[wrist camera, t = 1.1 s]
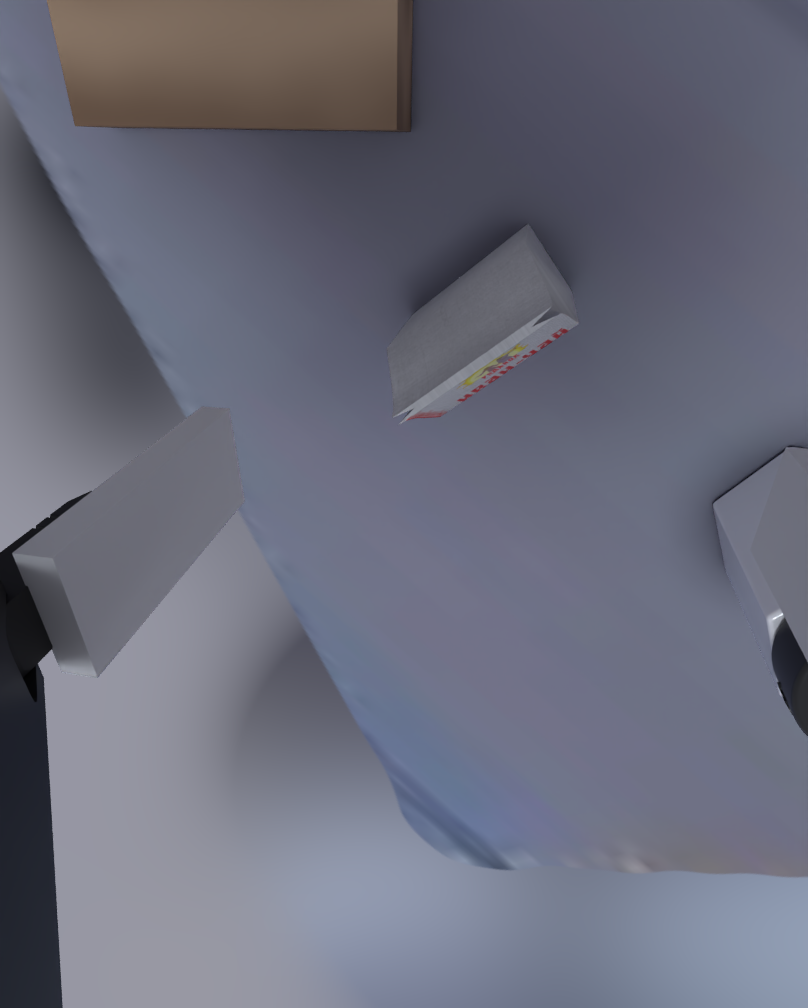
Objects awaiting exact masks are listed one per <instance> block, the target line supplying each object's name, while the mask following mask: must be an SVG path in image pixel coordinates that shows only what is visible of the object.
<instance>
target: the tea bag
mask: <svg viewBox="0 0 808 1008" xmlns="http://www.w3.org/2000/svg"><path fill="white" fill-rule="evenodd" d="M578 324H579V320H578V316H577V311H576V306H575V302H574V297H573V292H572V291H571V289H570V287H569V286H568V284H567V283H566V281H565V280H564V278H563V277H562V275H561V273H560V272H559V270H558V269H557V267H556V266H555V264H554V263H553V261H552V259H551V258H550V256H549V255H548V253H547V252H546V250H545V248H544V247H543V245H542V244H541V242H540V241H539V239H538V238H537V236H536V234H535V233H534V231H533V230H532V228H531V227H530V225H529V224H527V225H526V226H524V227H523V228H522V229H520V230H519V231H518V232H517V233H515V234H514V235H513V236H512V237H510V238H509V239H508V240H507V241H505V242H504V243H503V244H501V245H500V246H499V247H498V248H496V249H495V250H494V251H493V252H491V253H490V254H489V255H487V256H486V257H485V258H484V259H482V260H481V261H480V262H479V263H477V264H476V265H475V266H473V267H472V268H471V269H470V270H468V271H467V272H466V273H465V274H463V275H462V276H461V277H460V278H458V279H457V280H456V281H454V282H453V283H452V284H451V285H449V286H448V287H447V288H446V289H444V290H443V291H442V292H440V293H439V294H438V295H437V296H435V297H434V298H433V299H432V300H430V301H429V302H428V303H426V304H425V305H424V306H423V307H421V308H420V309H419V310H418V311H416V312H415V313H414V314H413V315H412V316H411V317H410V318H409V320H408V321H407V322H406V324H405V325H404V326H403V328H402V329H401V330H400V331H399V333H398V334H397V335H396V337H395V338H394V339H393V341H392V342H391V343H390V345H389V346H388V347H387V355H388V362H389V370H390V377H391V384H392V394H393V415H392V418H393V417H396V416H398V415H400V414H403V413H405V412H407V411H409V412H408V414H407V415H406V416H405V417H404V419H403V420H402V421H401V422H400V424H401V423H402V422H404V421H406V420H410V419H414V418H429V417H441V416H442V415H444V414H445V413H447V412H448V411H450V410H451V409H453V408H454V407H456V406H457V405H459V404H460V403H462V402H463V401H465V400H466V399H467V398H469V397H470V396H472V395H473V394H475V393H476V392H478V391H479V390H481V389H482V388H484V387H485V386H487V385H488V384H490V383H491V382H493V381H494V380H496V379H497V378H499V377H500V376H502V375H503V374H505V373H506V372H508V371H509V370H511V369H512V368H514V367H515V366H517V365H518V364H520V363H521V362H523V361H524V360H526V359H527V358H529V357H530V356H532V355H533V354H535V353H536V352H538V351H539V350H541V349H542V348H544V347H545V346H547V345H548V344H550V343H551V342H553V341H554V340H556V339H557V338H559V337H560V336H562V335H563V334H564V333H566V332H567V331H569V330H570V329H572V328H573V327H575V326H576V325H578ZM400 424H399V425H400Z"/></svg>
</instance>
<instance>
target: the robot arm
mask: <svg viewBox="0 0 808 1008" xmlns="http://www.w3.org/2000/svg"><path fill="white" fill-rule="evenodd" d="M244 501H245V500H244V494H243V488H242V482H241V476H240V470H239V464H238V458H237V452H236V446H235V440H234V434H233V428H232V421H231V415H230V409H229V408H215V407H201V408H199V409H198V410H197V411H195V412H194V413H193V414H192V415H190V416H189V417H188V418H186V419H185V420H184V421H182V422H181V423H180V424H179V425H177V426H176V427H175V428H173V429H172V430H171V431H170V432H168V433H167V434H166V435H164V436H163V437H162V438H161V439H159V440H158V441H157V442H155V443H154V444H153V445H151V446H150V447H149V448H148V449H146V450H145V451H144V452H142V453H141V454H140V455H138V456H137V457H136V458H135V459H133V460H132V461H131V462H129V463H128V464H127V465H126V466H124V467H123V468H122V469H120V470H119V471H118V472H117V473H115V474H114V475H113V476H111V477H110V478H109V479H107V480H106V481H105V482H104V483H102V484H101V485H100V486H98V487H97V488H96V489H94V490H93V491H90V492H88V493H86V494H83V495H81V496H79V497H77V498H75V499H72V500H70V501H68V502H67V503H66V504H64V505H63V506H61V507H60V508H59V509H57V510H56V511H55V512H53V513H52V514H51V515H50V518H48V517H47V518H46V519H44V520H43V521H42V522H40V523H39V524H38V525H36V529H34V528H32V529H31V530H30V531H29V532H27V533H26V534H24V535H23V536H22V537H20V538H19V539H18V540H16V541H15V542H14V543H12V544H11V545H10V546H8V547H7V548H6V549H4V550H3V551H2V552H0V1008H62V990H61V972H60V955H59V937H58V920H57V902H56V886H55V867H54V851H53V833H52V815H51V798H50V780H49V763H48V745H47V728H46V711H45V694H44V677H43V675H42V673H41V670H40V668H39V666H38V663H39V662H40V660H41V659H42V658H43V657H44V656H45V655H46V654H47V653H48V652H49V651H50V650H51V649H52V650H53V653H54V655H55V658H56V660H57V663H58V665H59V667H60V670H61V672H64V673H70V674H77V675H83V676H90V677H95V678H98V677H99V676H100V674H101V673H102V672H103V671H104V670H105V668H106V667H107V666H108V665H109V664H110V662H111V661H112V660H113V659H114V658H115V656H116V655H117V654H118V653H119V652H120V650H121V649H122V648H123V647H124V646H125V644H126V643H127V642H128V641H129V639H130V638H131V637H132V636H133V635H134V634H135V632H136V631H137V630H138V629H139V627H140V626H141V625H142V624H143V623H144V622H145V620H146V619H147V618H148V617H149V616H150V614H151V613H152V612H153V611H154V610H155V608H156V607H157V606H158V604H160V602H161V601H162V600H163V599H164V598H165V596H166V595H167V594H168V593H169V592H170V590H171V589H172V588H173V587H174V585H175V584H176V583H177V582H178V581H179V579H180V578H181V577H182V576H183V575H184V573H185V572H186V571H187V570H188V569H189V567H190V566H191V565H192V564H193V563H194V561H195V560H196V559H197V558H198V556H199V555H200V554H201V553H202V552H203V551H204V549H205V548H206V547H207V546H208V545H209V543H210V542H211V541H212V540H213V539H214V537H215V536H216V535H217V534H218V533H219V531H220V530H221V529H222V528H223V527H224V525H225V524H226V523H227V522H228V520H229V519H230V518H231V517H232V516H233V515H234V513H235V512H236V511H237V510H238V509H239V507H240V506H241V505H242V504H243V503H244ZM750 551H751V553H752V555H753V557H754V559H755V561H756V562H757V564H758V566H759V568H760V570H761V572H762V574H763V576H764V578H765V580H766V582H767V584H768V586H769V588H770V590H771V592H772V594H773V596H774V598H775V599H776V601H777V603H778V605H779V607H780V609H781V611H782V613H783V615H784V617H785V619H786V621H787V623H788V625H789V627H790V629H791V631H792V633H793V635H794V636H795V638H796V640H797V642H798V644H799V646H800V648H801V650H802V652H803V654H804V656H805V658H806V660H807V662H808V449H806V448H791V447H786V448H785V451H784V454H783V457H782V460H781V463H780V465H779V468H778V471H777V474H776V477H775V480H774V483H773V486H772V488H771V491H770V494H769V497H768V500H767V503H766V506H765V509H764V511H763V514H762V517H761V520H760V523H759V526H758V529H757V532H756V535H755V537H754V540H753V543H752V546H751V549H750Z"/></svg>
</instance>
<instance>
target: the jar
mask: <svg viewBox="0 0 808 1008" xmlns="http://www.w3.org/2000/svg"><path fill="white" fill-rule="evenodd" d="M791 448H797V447H791ZM783 454H784V452H783V453H781V454H780V455H779V456H777V457H776V458H775V459H773V460H772V461H770V462H769V463H768V464H766V465H765V466H764V467H762V468H761V469H759V470H758V471H757V472H755V473H754V474H753V475H751V476H750V477H748V478H747V479H746V480H744V481H743V482H741V483H740V484H739V485H737V486H736V487H735V488H733V489H732V490H730V491H729V492H728V493H726V494H725V495H723V496H722V497H721V498H719V499H718V500H716V501H715V502H714V503H713V510H714V515H715V520H716V525H717V530H718V535H719V540H720V545H721V550H722V555H723V560H724V565H725V570H726V572H727V575H728V577H729V579H730V582H731V584H732V586H733V589H734V591H735V593H736V596H737V598H738V600H739V603H740V605H741V607H742V609H743V612H744V614H745V616H746V619H747V621H748V623H749V626H750V628H751V630H752V633H753V635H754V637H755V640H756V642H757V644H758V646H759V649H760V651H761V653H762V656H763V658H764V660H765V663H766V665H767V667H768V670H769V672H770V674H771V677H772V679H773V681H774V684H775V686H776V688H777V690H778V693H779V694H780V695H781V696H782V697H783V699H784V701H785V703H786V705H787V707H788V708H789V710H790V712H791V713H792V715H793V716H794V718H795V720H796V722H797V724H798V725H799V727H800V728H801V729H802V731H803V732H804V733H805V734H806V735H807V736H808V662H807V660H806V658H805V656H804V654H803V652H802V650H801V648H800V646H799V644H798V642H797V640H796V638H795V636H794V635H793V633H792V631H791V629H790V627H789V625H788V623H787V621H786V619H785V617H784V615H783V613H782V611H781V609H780V607H779V605H778V603H777V601H776V599H775V598H774V596H773V594H772V592H771V590H770V588H769V586H768V584H767V582H766V580H765V578H764V576H763V574H762V572H761V570H760V568H759V566H758V564H757V562H756V561H755V559H754V557H753V555H752V553H751V551H750V549H751V546H752V543H753V540H754V537H755V535H756V532H757V529H758V526H759V523H760V520H761V517H762V514H763V511H764V509H765V506H766V503H767V500H768V497H769V494H770V491H771V488H772V486H773V483H774V480H775V477H776V474H777V471H778V468H779V465H780V463H781V460H782V457H783Z"/></svg>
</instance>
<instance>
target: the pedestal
mask: <svg viewBox="0 0 808 1008" xmlns="http://www.w3.org/2000/svg"><path fill="white" fill-rule="evenodd" d="M47 4H48V8H49V12H50V17H51V21H52V26H53V30H54V35H55V39H56V44H57V48H58V52H59V57H60V61H61V66H62V70H63V75H64V79H65V84H66V88H67V92H68V97H69V101H70V106H71V110H72V115H73V119H74V124H75V126H87V127H111V128H171V129H244V130H316V131H389V132H411V85H412V27H413V0H47Z"/></svg>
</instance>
